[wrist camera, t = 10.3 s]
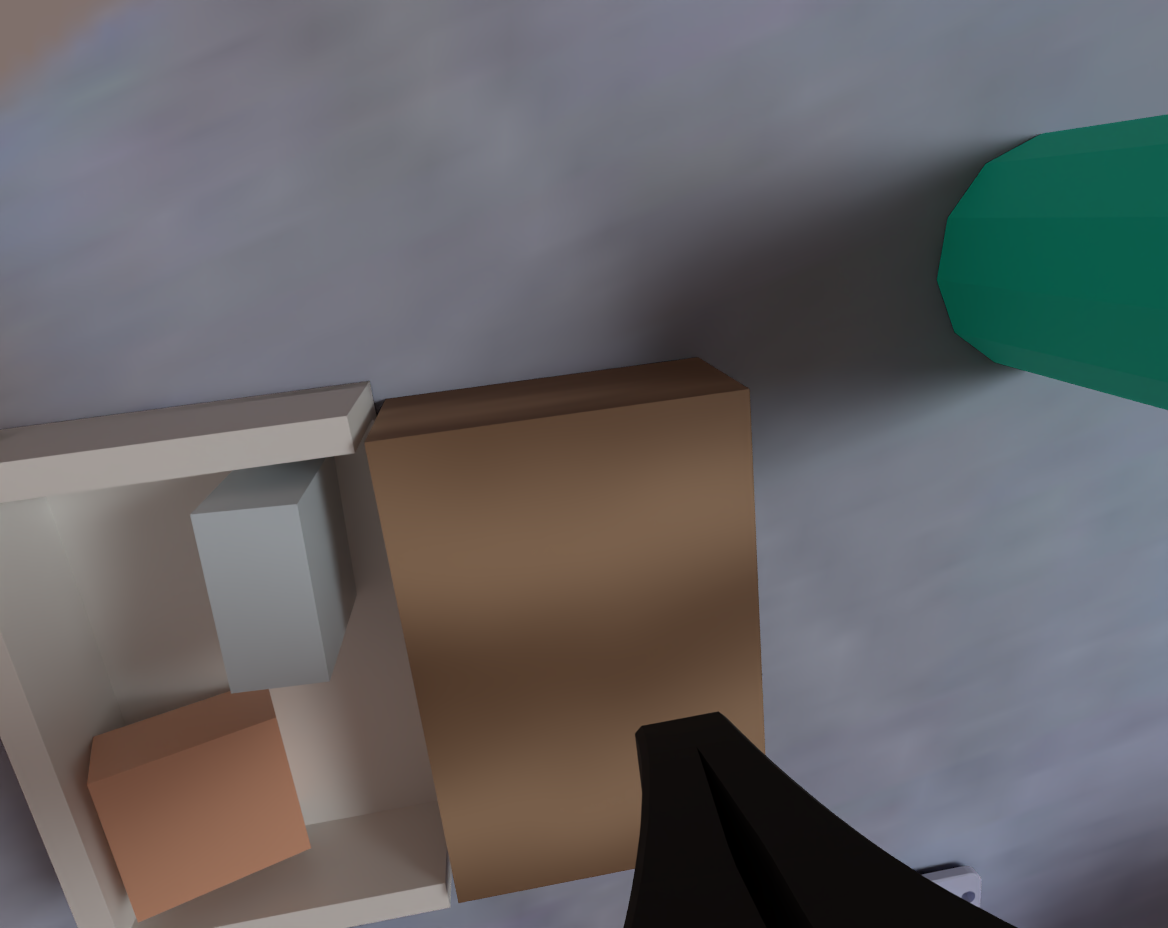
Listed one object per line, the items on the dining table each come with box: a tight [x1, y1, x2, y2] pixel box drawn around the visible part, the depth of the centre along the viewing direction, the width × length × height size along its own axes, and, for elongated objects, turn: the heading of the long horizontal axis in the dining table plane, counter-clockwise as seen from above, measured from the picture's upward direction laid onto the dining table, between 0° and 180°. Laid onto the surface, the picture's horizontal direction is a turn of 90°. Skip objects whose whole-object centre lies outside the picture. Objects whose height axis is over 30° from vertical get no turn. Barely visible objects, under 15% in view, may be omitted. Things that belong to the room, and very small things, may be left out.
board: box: [364, 357, 765, 903], centre depth 20 cm, size 12×8×4 cm, turn 6°
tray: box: [0, 381, 452, 928], centre depth 19 cm, size 13×9×4 cm, turn 6°
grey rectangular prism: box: [190, 456, 357, 694], centre depth 18 cm, size 4×4×2 cm
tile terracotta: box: [87, 689, 311, 923], centre depth 19 cm, size 4×4×2 cm
